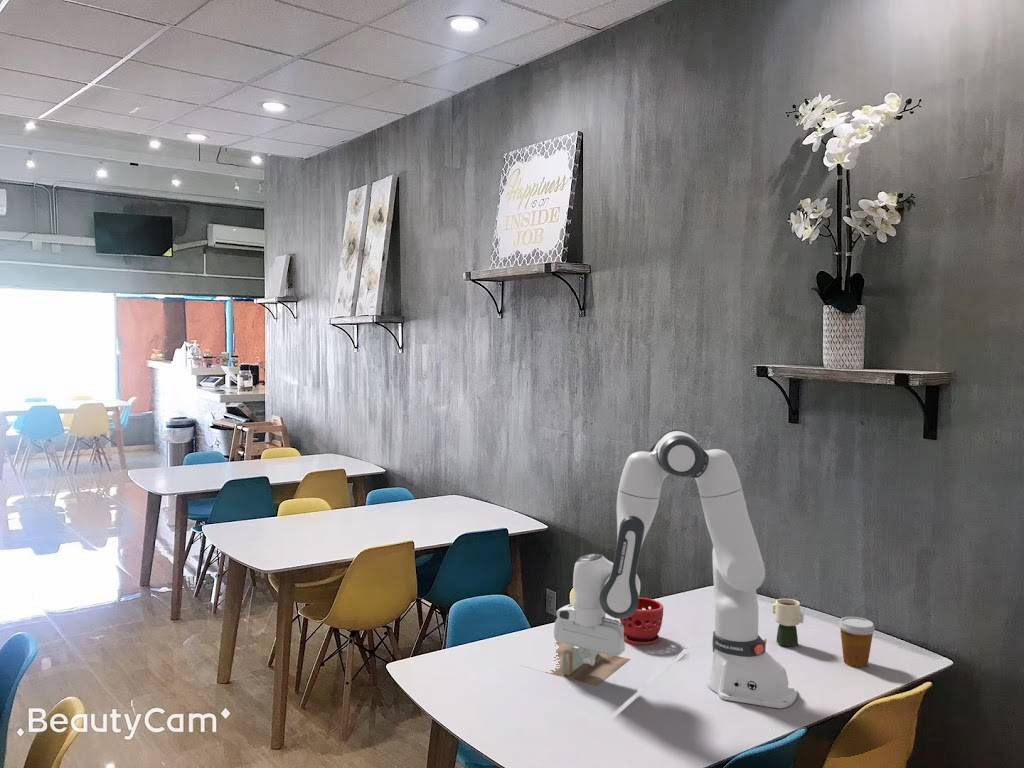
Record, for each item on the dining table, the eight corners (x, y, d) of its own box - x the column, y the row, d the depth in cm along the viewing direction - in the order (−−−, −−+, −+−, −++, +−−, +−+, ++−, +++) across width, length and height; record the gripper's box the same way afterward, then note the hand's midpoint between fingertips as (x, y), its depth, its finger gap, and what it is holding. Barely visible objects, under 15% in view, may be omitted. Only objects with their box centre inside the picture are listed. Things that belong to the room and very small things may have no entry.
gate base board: (630, 662, 229) (630, 631, 228) (597, 689, 211) (597, 655, 210) (557, 645, 242) (557, 615, 241) (519, 669, 224) (520, 637, 223)
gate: (595, 655, 230) (595, 635, 230) (568, 675, 217) (569, 654, 216) (589, 654, 231) (589, 634, 231) (562, 673, 218) (562, 652, 217)
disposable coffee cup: (835, 666, 226) (836, 624, 226) (839, 654, 235) (840, 614, 234) (872, 672, 222) (873, 630, 221) (875, 660, 230) (876, 619, 230)
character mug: (810, 647, 240) (811, 604, 239) (794, 652, 236) (795, 609, 235) (779, 636, 249) (780, 595, 248) (764, 641, 245) (765, 599, 244)
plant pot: (650, 653, 235) (650, 613, 235) (611, 643, 243) (611, 604, 243) (670, 640, 246) (670, 601, 245) (632, 630, 254) (632, 593, 253)
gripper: (629, 618, 214) (628, 668, 215) (562, 603, 226) (562, 652, 227) (618, 625, 209) (617, 677, 210) (551, 610, 221) (550, 659, 221)
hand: (588, 664), depth 218 cm, fingers closed
